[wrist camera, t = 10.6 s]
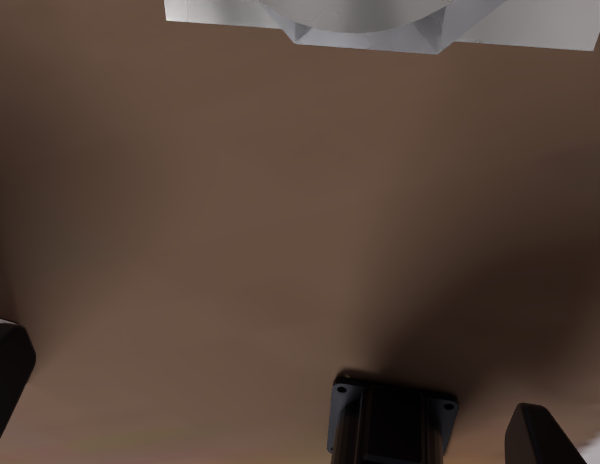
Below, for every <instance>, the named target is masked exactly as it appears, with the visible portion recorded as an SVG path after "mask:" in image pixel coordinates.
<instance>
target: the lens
mask: <svg viewBox="0 0 600 464" xmlns="http://www.w3.org/2000/svg"><path fill="white" fill-rule="evenodd" d="M258 1H259V2H260V3H262V4H263V5H265V6H267V7H268V8H270V9H271V10H273V11H275V12H276V13H278V14H280V15H282V16H284V17H286V18H288V19H290V20H292V21H295V22H297V23H299V24H303V25H306V26H309V27H312V28H315V29H320V30H325V31H331V32H337V33H368V32H378V31H383V30H388V29H392V28H396V27H400V26H403V25H406V24H409V23H411V22H414V21H417V20H419V19H422V18H424V17H426V16H428V15H430V14H432V13H434V12H435V11H437V10H439V9H441V8H443V7H445V6H446V5H448V4H449V3H450V2H452V1H453V0H258Z"/></svg>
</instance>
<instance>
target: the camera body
mask: <svg viewBox="0 0 600 464" xmlns="http://www.w3.org/2000/svg"><path fill="white" fill-rule="evenodd" d="M164 4H165V12H166V20H167V21H181V22H195V23H209V24H223V25H237V26H251V27H265V28H278V29H282V30H283V31H284V32H285V33H286V34H287V35H288V36H289V38H290V39H291V40H292V41H293V42H294V43H295V44H305V45H318V46H331V47H345V48H358V49H371V50H384V51H398V52H411V53H424V54H437V55H438V54H439V53H440V52H441V51H442V50H444V49H445V48H446V47H448V46H449V45H450V44H451V43H453V42H454V41H459V42H473V43H487V44H501V45H514V46H528V47H542V48H556V49H570V50H584V51H593V50H594V47H595V44H596V41H597V38H598V35H599V32H600V0H453V1H452V2H450V3H449V4H448V5H446V6H445V7H443V8H441V9H439V10H437V11H435V12H434V13H432V14H430V15H428V16H426V17H424V18H422V19H419V20H417V21H414V22H411V23H409V24H406V25H403V26H400V27H396V28H392V29H388V30H383V31H378V32H368V33H337V32H331V31H325V30H320V29H315V28H312V27H309V26H306V25H303V24H299V23H297V22H295V21H292V20H290V19H288V18H286V17H284V16H282V15H280V14H278V13H276V12H275V11H273V10H271V9H270V8H268V7H267V6H265V5H263V4H262V3H260V2H259V1H258V0H164Z"/></svg>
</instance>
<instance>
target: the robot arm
mask: <svg viewBox="0 0 600 464" xmlns="http://www.w3.org/2000/svg"><path fill="white" fill-rule="evenodd" d="M35 362H36V353H35V350H34V347H33V345H32V342H31V340H30V337H29V335H28V332H27V330H26V328H25V327H24V326H22V325H19V324H12V323H0V438H1V436H2V434H3V432H4V430H5V428H6V426H7V424H8V422H9V420H10V417H11V415H12V413H13V411H14V409H15V407H16V405H17V403H18V400H19V398H20V396H21V394H22V392H23V390H24V388H25V385H26V383H27V381H28V379H29V377H30V375H31V373H32V371H33V368H34V366H35ZM458 409H459V404H458V398H457V397H456V396H454V395H451V394H445V393H439V392H432V391H426V390H420V389H413V388H407V387H400V386H394V385H387V384H381V383H375V382H368V381H362V380H355V379H349V378H336V379H335V380H334V382H333V387H332V397H331V408H330V419H329V430H328V441H327V450H328V451H329V452H330V453H332V458H331V464H443V456H444V453H445V450H446V447H447V443H448V440H449V437H450V434H451V431H452V428H453V425H454V422H455V418H456V415H457V412H458ZM505 464H587V463H586V462H585V460H584V459H583V458H582V456H581V455H580V453H579V452H578V451H577V449H576V448H575V447H574V445H573V444H572V442H571V441H570V440H569V438H568V437H567V435H566V434H565V433H564V431H563V430H562V429H561V427H560V426H559V424H558V423H557V422H556V420H555V419H554V418H553V416H552V415H551V413H550V412H549V411H548V410H547V409H546V408H545V407H543V406H541V405H535V404H529V403H519V404H518V405H517V407H516V409H515V411H514V413H513V416H512V418H511V421H510V423H509V425H508V428H507V430H506V434H505Z"/></svg>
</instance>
